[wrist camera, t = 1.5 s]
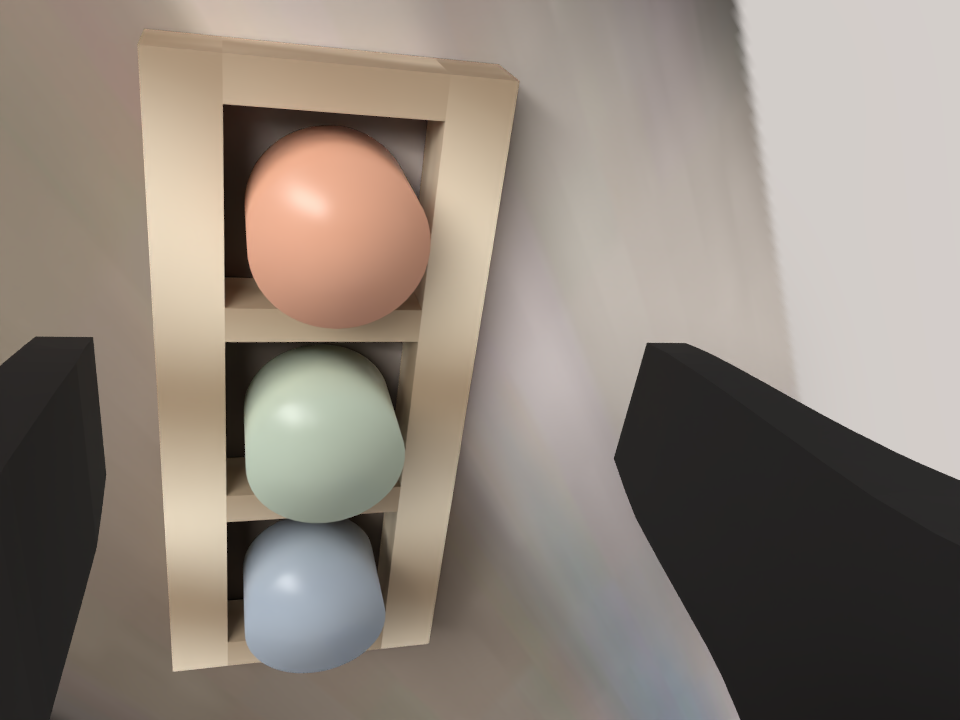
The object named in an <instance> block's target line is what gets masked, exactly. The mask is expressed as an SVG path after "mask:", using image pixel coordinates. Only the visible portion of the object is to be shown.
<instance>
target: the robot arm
mask: <svg viewBox="0 0 960 720" xmlns="http://www.w3.org/2000/svg"><path fill="white" fill-rule="evenodd" d="M614 460H615V463H616V466H617V469H618V472H619V475H620V477H621V480H622V483H623V486H624V489H625V492H626V494H627V497H628V499H629V502H630V504H631V507H632V509H633V512H634V514H635V517H636V519H637V521H638V523H639V525H640V527H641V528H642V530H643V532H644V534H645V536H646V538H647V540H648V541H649V543H650V545H651V547H652V549H653V551H654V552H655V554H656V556H657V558H658V560H659V562H660V563H661V565H662V567H663V569H664V571H665V572H666V574H667V576H668V578H669V580H670V581H671V583H672V585H673V587H674V588H675V590H676V592H677V594H678V596H679V597H680V599H681V601H682V603H683V604H684V606H685V608H686V610H687V612H688V613H689V615H690V617H691V619H692V621H693V622H694V624H695V626H696V628H697V629H698V631H699V633H700V635H701V637H702V638H703V640H704V642H705V644H706V646H707V647H708V649H709V651H710V653H711V655H712V657H713V659H714V661H715V663H716V665H717V667H718V669H719V671H720V673H721V675H722V677H723V680H724V682H725V684H726V687H727V689H728V691H729V694H730V696H731V698H732V701H733V703H734V705H735V708H736V710H737V712H738V715H739V717H740V719H741V720H960V480H957V479H955V478H953V477H951V476H948V475H946V474H943V473H941V472H939V471H936V470H934V469H932V468H929V467H927V466H925V465H922V464H920V463H918V462H915V461H913V460H911V459H909V458H907V457H905V456H903V455H900V454H898V453H896V452H894V451H892V450H890V449H888V448H886V447H884V446H882V445H880V444H878V443H876V442H874V441H872V440H870V439H868V438H866V437H864V436H862V435H860V434H858V433H856V432H854V431H852V430H850V429H848V428H846V427H844V426H842V425H841V424H839V423H837V422H835V421H833V420H831V419H829V418H827V417H826V416H823V415H822V414H820V413H818V412H816V411H814V410H812V409H811V408H809V407H807V406H805V405H804V404H802V403H800V402H798V401H796V400H795V399H793V398H791V397H789V396H787V395H786V394H784V393H782V392H780V391H778V390H777V389H775V388H773V387H771V386H769V385H768V384H766V383H764V382H762V381H760V380H759V379H757V378H755V377H753V376H751V375H750V374H748V373H746V372H744V371H742V370H740V369H739V368H737V367H735V366H733V365H731V364H729V363H727V362H725V361H723V360H722V359H720V358H718V357H716V356H714V355H712V354H710V353H708V352H705V351H703V350H701V349H699V348H696V347H694V346H691V345H689V344H686V343H647V345H646V348H645V352H644V355H643V359H642V362H641V366H640V369H639V373H638V376H637V380H636V383H635V387H634V390H633V394H632V397H631V401H630V404H629V408H628V411H627V414H626V418H625V421H624V425H623V428H622V432H621V435H620V439H619V442H618V446H617V449H616V453H615V456H614ZM105 480H106V468H105V457H104V447H103V437H102V426H101V416H100V406H99V395H98V385H97V374H96V364H95V354H94V343H93V337H35V338H33V339H32V340H31V341H30V342H28V343H27V344H26V345H24V346H23V347H22V348H21V349H20V350H18V351H17V352H16V353H15V354H14V355H13V356H11V357H10V358H9V359H8V360H7V361H5V362H4V363H3V364H2V365H1V366H0V720H50V715H51V712H52V708H53V705H54V701H55V697H56V694H57V690H58V687H59V683H60V679H61V676H62V672H63V668H64V665H65V661H66V658H67V654H68V650H69V647H70V643H71V640H72V636H73V632H74V629H75V625H76V622H77V618H78V614H79V611H80V607H81V604H82V600H83V596H84V592H85V589H86V585H87V581H88V578H89V574H90V570H91V567H92V563H93V559H94V555H95V551H96V548H97V541H98V534H99V527H100V520H101V513H102V504H103V496H104V488H105Z"/></svg>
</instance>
